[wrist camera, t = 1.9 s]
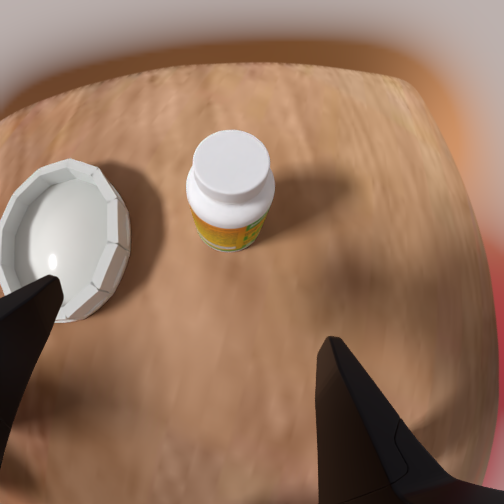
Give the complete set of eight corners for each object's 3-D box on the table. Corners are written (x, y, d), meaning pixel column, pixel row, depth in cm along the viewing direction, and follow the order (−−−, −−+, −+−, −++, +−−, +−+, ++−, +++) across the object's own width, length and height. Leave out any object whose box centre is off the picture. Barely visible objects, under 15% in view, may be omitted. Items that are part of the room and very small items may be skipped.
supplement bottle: (248, 263, 23) (264, 224, 13) (185, 239, 23) (160, 187, 13) (270, 204, 24) (296, 138, 15) (210, 183, 24) (205, 109, 15)
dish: (162, 256, 22) (153, 247, 19) (50, 352, 19) (31, 355, 16) (91, 149, 24) (80, 132, 21) (-1, 235, 21) (-18, 226, 18)
